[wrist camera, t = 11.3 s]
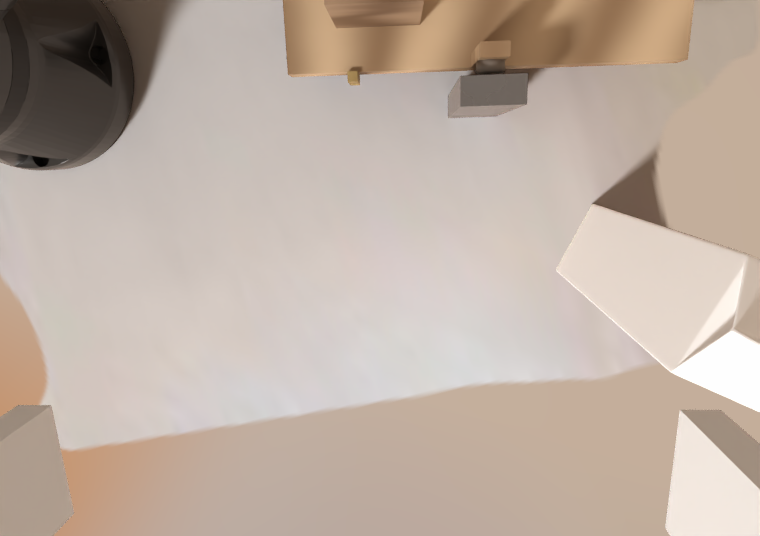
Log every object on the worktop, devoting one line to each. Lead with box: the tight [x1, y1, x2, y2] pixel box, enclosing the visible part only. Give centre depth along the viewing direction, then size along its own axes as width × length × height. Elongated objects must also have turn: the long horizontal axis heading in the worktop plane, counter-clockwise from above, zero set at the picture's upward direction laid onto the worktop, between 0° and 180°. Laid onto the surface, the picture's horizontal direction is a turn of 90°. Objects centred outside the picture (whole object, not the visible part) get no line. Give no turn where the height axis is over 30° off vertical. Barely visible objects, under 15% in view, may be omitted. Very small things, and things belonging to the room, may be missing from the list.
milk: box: [556, 204, 760, 412], centre depth 29 cm, size 6×6×22 cm
